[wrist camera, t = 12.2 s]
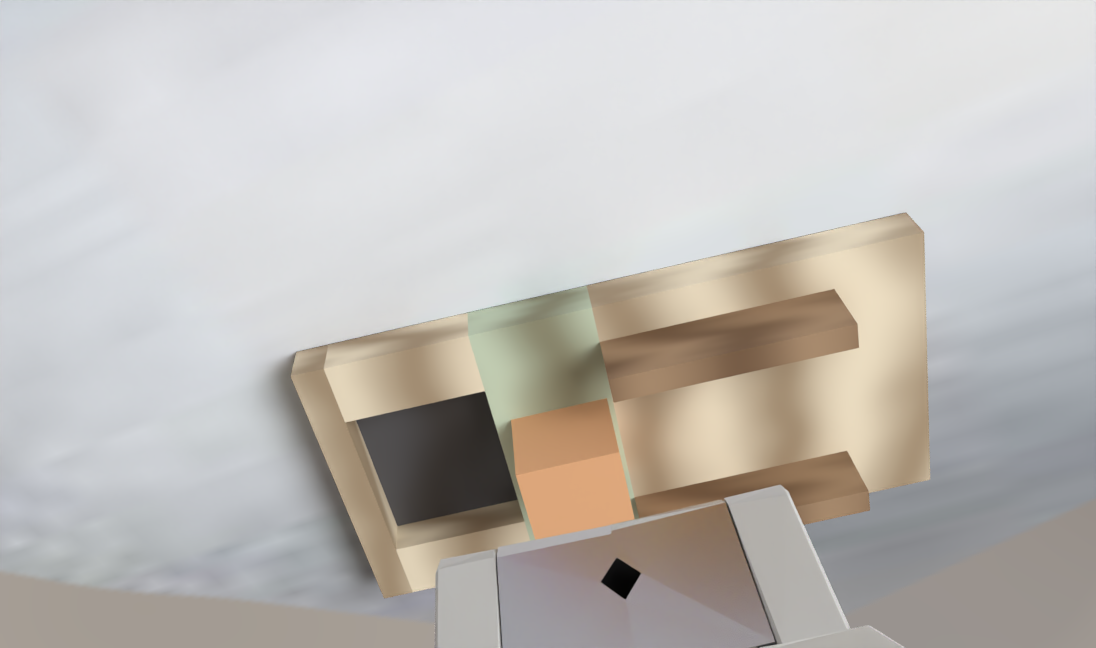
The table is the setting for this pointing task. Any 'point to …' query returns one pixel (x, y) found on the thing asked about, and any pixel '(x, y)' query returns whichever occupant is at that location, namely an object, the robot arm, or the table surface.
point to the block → (570, 469)
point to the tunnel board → (638, 393)
